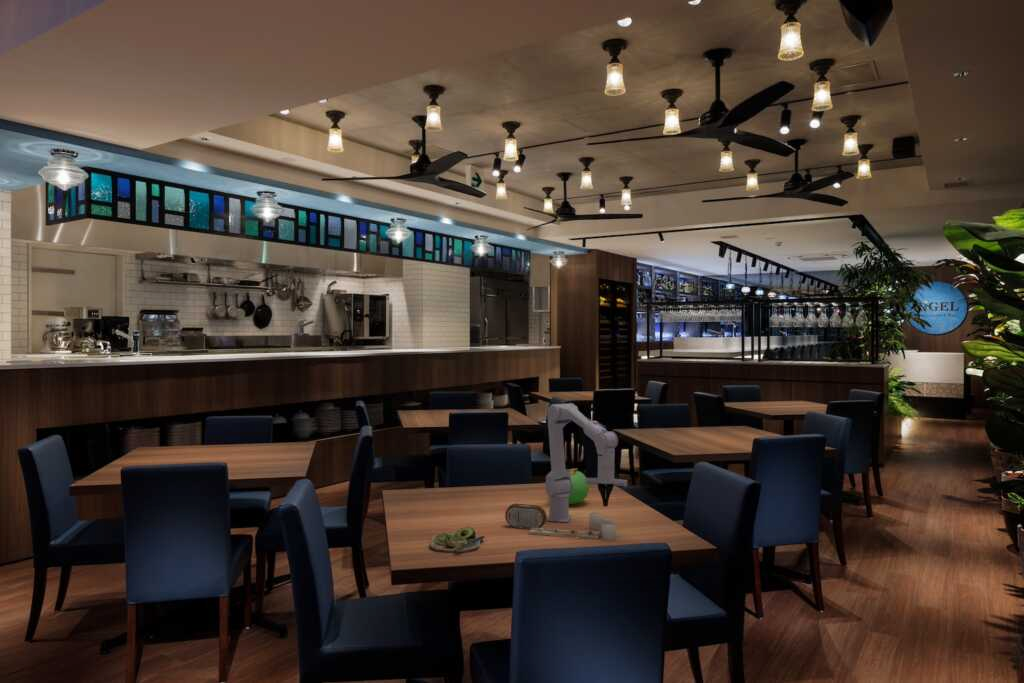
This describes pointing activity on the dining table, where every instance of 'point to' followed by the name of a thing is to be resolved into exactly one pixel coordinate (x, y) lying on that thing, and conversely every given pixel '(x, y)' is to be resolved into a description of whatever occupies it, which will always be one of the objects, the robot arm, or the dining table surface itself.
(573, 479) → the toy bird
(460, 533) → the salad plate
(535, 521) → the tin
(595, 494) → the dining table surface
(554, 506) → the robot arm
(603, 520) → the cylindrical block
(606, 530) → the cylindrical block
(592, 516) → the cylindrical block
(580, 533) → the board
